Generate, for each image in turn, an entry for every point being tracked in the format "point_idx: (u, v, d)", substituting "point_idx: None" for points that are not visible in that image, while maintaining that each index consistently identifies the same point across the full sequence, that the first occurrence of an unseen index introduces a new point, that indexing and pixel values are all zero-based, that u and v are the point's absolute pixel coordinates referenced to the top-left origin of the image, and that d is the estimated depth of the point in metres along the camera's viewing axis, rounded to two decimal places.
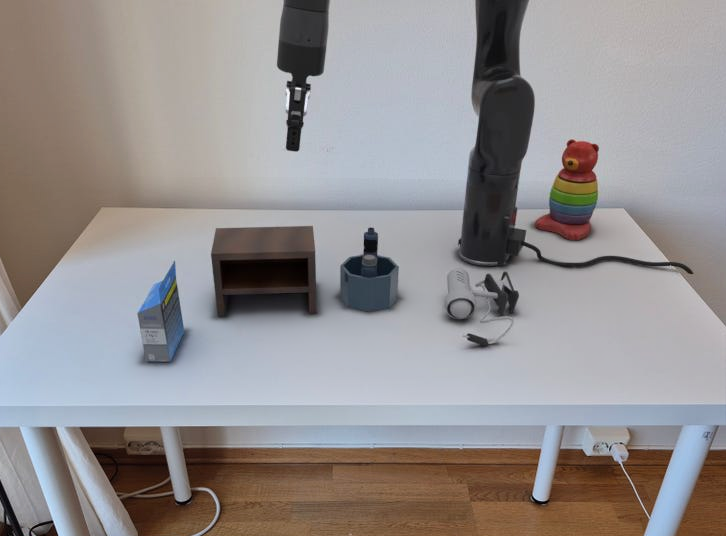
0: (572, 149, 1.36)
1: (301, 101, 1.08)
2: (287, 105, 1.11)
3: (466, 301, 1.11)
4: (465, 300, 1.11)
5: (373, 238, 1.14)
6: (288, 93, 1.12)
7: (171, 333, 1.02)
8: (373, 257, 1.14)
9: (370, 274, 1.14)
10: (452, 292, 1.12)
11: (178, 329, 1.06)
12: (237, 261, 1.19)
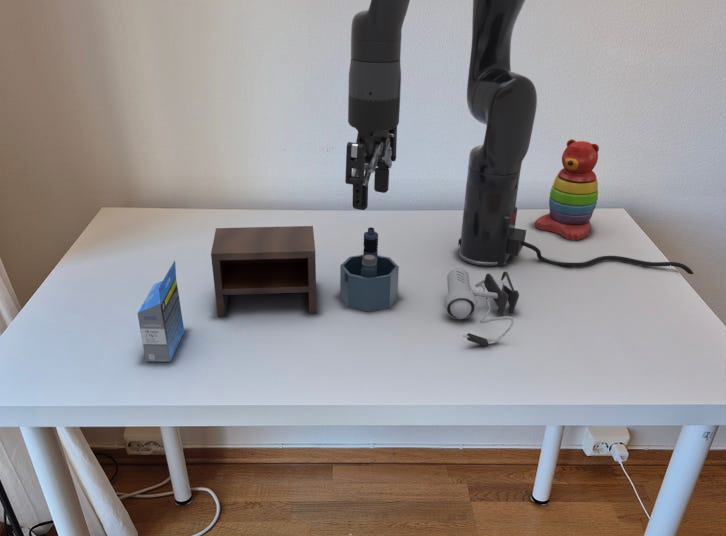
0: (571, 149, 1.36)
1: (358, 158, 1.00)
2: None
3: (466, 301, 1.11)
4: (465, 300, 1.11)
5: (373, 238, 1.14)
6: None
7: (171, 333, 1.02)
8: (373, 257, 1.14)
9: (370, 274, 1.14)
10: (452, 292, 1.12)
11: (178, 329, 1.06)
12: (237, 261, 1.19)
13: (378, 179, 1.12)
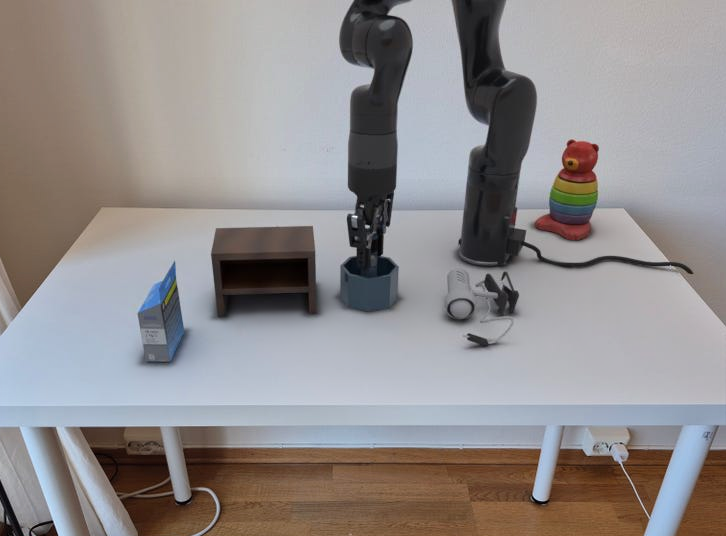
0: (572, 149, 1.36)
1: (358, 229, 1.06)
2: None
3: (466, 301, 1.11)
4: (465, 300, 1.11)
5: (373, 238, 1.14)
6: None
7: (171, 333, 1.02)
8: (373, 257, 1.14)
9: (370, 274, 1.14)
10: (452, 292, 1.12)
11: (178, 329, 1.06)
12: (237, 261, 1.19)
13: None
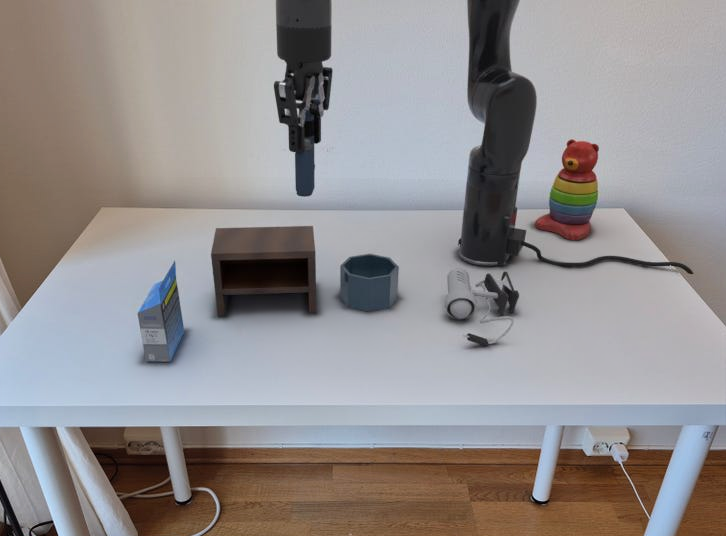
0: (571, 149, 1.36)
1: (287, 99, 0.95)
2: None
3: (466, 301, 1.11)
4: (465, 300, 1.11)
5: (308, 119, 1.03)
6: None
7: (171, 333, 1.02)
8: (308, 140, 1.03)
9: (304, 159, 1.03)
10: (452, 292, 1.12)
11: (178, 329, 1.06)
12: (237, 261, 1.19)
13: None
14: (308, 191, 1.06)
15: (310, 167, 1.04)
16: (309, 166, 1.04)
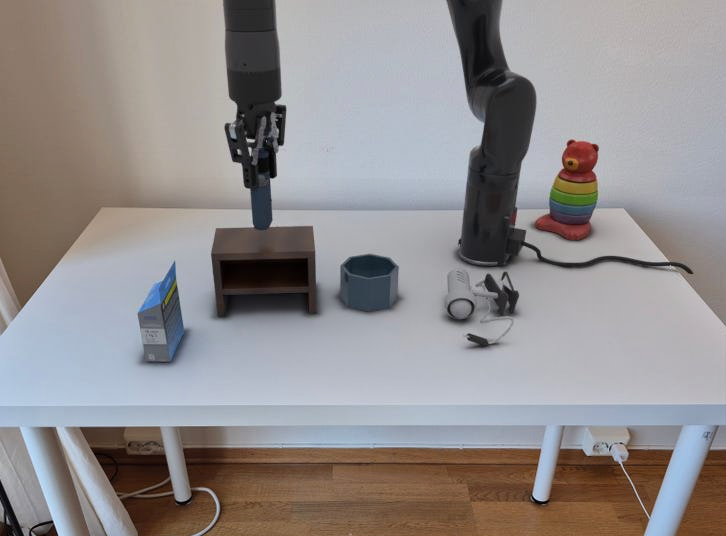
0: (571, 149, 1.36)
1: (238, 140, 0.98)
2: None
3: (466, 301, 1.11)
4: (465, 300, 1.11)
5: (262, 156, 1.05)
6: None
7: (171, 333, 1.02)
8: (262, 177, 1.05)
9: (259, 195, 1.06)
10: (452, 292, 1.12)
11: (178, 329, 1.06)
12: (237, 261, 1.19)
13: None
14: (265, 225, 1.08)
15: (265, 202, 1.07)
16: (264, 201, 1.06)
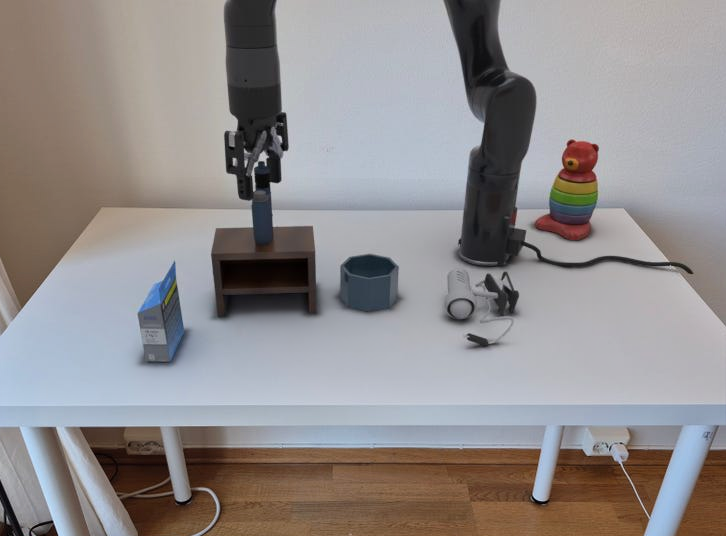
0: (572, 149, 1.36)
1: (236, 147, 0.98)
2: None
3: (466, 301, 1.11)
4: (465, 300, 1.11)
5: (263, 172, 1.07)
6: None
7: (171, 333, 1.02)
8: (263, 192, 1.07)
9: (260, 211, 1.07)
10: (452, 292, 1.12)
11: (178, 329, 1.06)
12: (237, 261, 1.19)
13: (270, 169, 1.10)
14: (265, 240, 1.10)
15: (266, 217, 1.08)
16: (265, 217, 1.08)
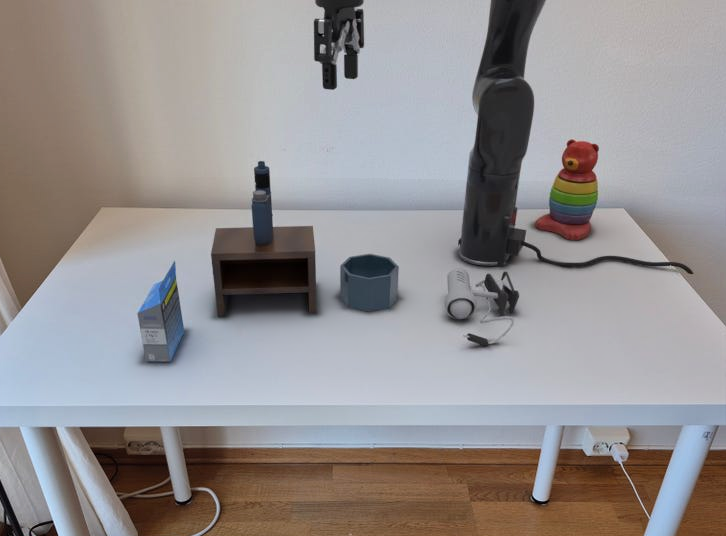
0: (571, 149, 1.36)
1: (325, 34, 1.05)
2: None
3: (466, 301, 1.11)
4: (465, 300, 1.11)
5: (263, 172, 1.07)
6: None
7: (171, 333, 1.02)
8: (263, 192, 1.07)
9: (260, 211, 1.07)
10: (452, 292, 1.12)
11: (178, 329, 1.06)
12: (237, 261, 1.19)
13: (347, 65, 1.17)
14: (265, 240, 1.10)
15: (266, 217, 1.08)
16: (265, 217, 1.08)
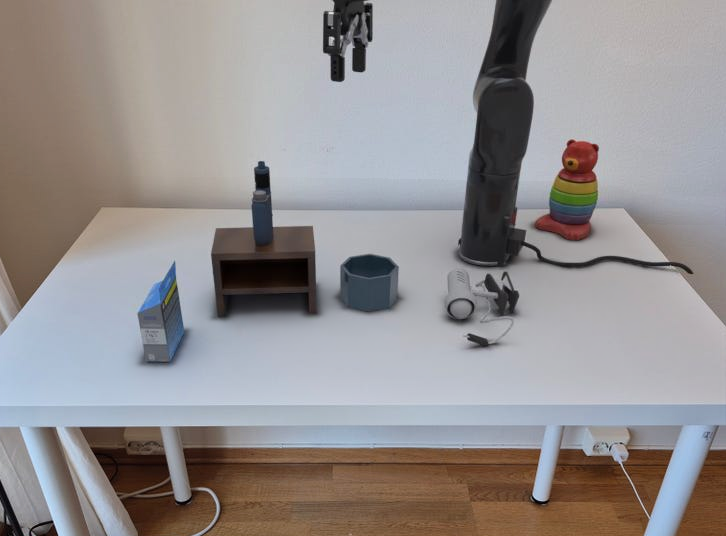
0: (572, 149, 1.36)
1: (334, 26, 1.07)
2: None
3: (466, 301, 1.11)
4: (465, 300, 1.11)
5: (263, 172, 1.07)
6: None
7: (171, 333, 1.02)
8: (263, 192, 1.07)
9: (260, 211, 1.07)
10: (452, 292, 1.12)
11: (178, 329, 1.06)
12: (237, 261, 1.19)
13: (355, 58, 1.19)
14: (265, 240, 1.10)
15: (266, 217, 1.08)
16: (265, 217, 1.08)
